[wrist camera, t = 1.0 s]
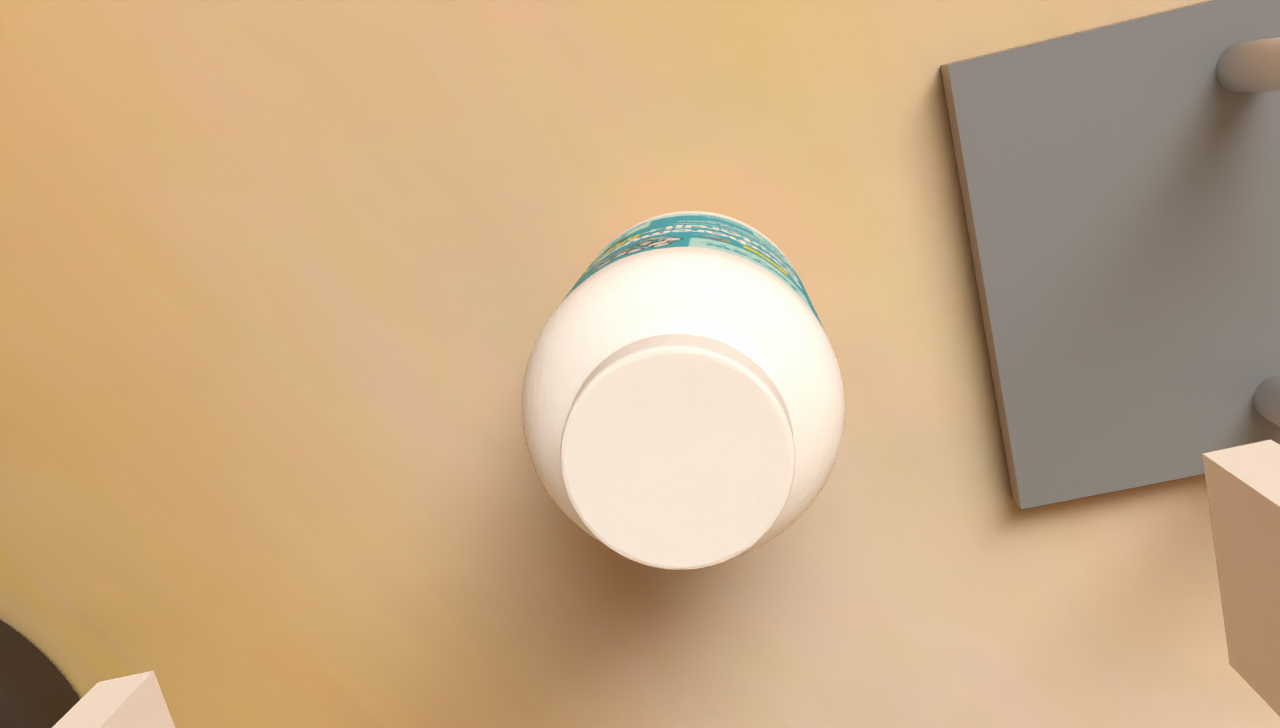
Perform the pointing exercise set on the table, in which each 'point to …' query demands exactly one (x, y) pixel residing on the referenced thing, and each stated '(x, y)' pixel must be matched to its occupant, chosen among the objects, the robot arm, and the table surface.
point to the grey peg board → (1126, 243)
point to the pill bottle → (684, 394)
